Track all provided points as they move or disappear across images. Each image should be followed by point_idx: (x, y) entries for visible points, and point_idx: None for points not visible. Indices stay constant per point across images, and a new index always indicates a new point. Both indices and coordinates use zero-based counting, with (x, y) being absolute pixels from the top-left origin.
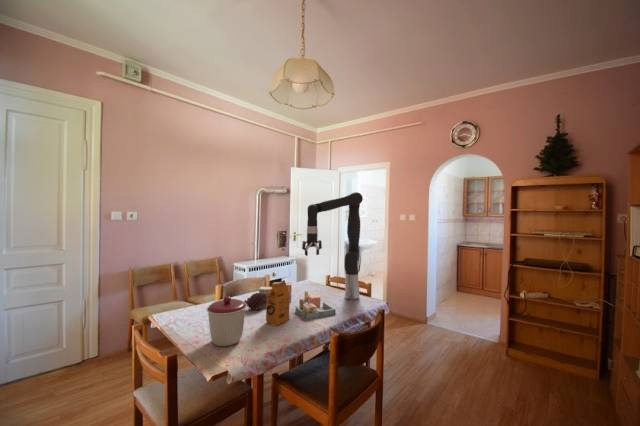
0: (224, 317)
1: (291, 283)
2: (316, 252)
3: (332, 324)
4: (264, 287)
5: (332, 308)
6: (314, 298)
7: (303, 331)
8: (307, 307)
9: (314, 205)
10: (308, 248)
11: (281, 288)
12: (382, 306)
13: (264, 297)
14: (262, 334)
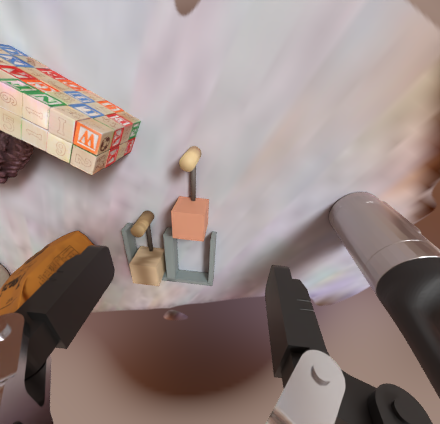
0: None
1: (100, 142)
2: (276, 297)
3: (180, 302)
4: None
5: (208, 280)
6: (182, 238)
7: (120, 297)
8: (134, 281)
9: None
10: (48, 405)
11: None
12: (349, 296)
13: (4, 163)
14: None
